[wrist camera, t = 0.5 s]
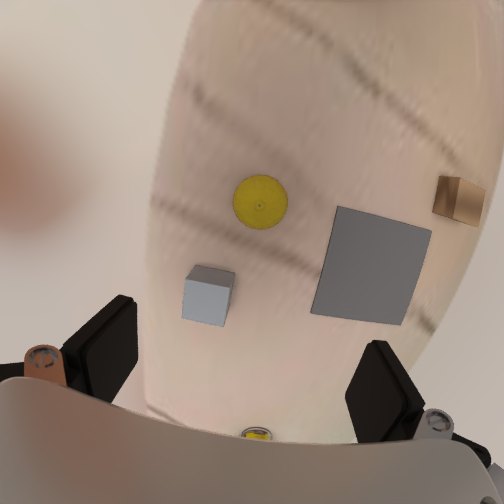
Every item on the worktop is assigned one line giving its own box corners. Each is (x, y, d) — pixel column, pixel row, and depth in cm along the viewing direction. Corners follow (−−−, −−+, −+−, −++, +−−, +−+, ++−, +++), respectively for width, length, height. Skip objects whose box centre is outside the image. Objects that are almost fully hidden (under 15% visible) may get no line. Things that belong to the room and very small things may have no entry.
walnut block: (438, 176, 30) (460, 177, 25) (463, 186, 30) (485, 189, 25) (432, 211, 31) (452, 217, 27) (457, 220, 31) (478, 227, 27)
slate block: (195, 265, 35) (185, 278, 30) (235, 272, 35) (230, 287, 30) (191, 300, 36) (181, 318, 32) (229, 308, 36) (223, 327, 32)
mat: (337, 206, 32) (338, 206, 32) (430, 230, 32) (431, 231, 32) (310, 312, 36) (310, 313, 36) (400, 324, 36) (400, 325, 35)
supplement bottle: (269, 424, 42) (268, 471, 32) (274, 441, 43) (274, 485, 34) (237, 427, 43) (232, 472, 33) (245, 444, 44) (240, 486, 34)
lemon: (290, 214, 33) (298, 226, 25) (245, 228, 33) (239, 244, 26) (277, 169, 31) (280, 166, 24) (231, 183, 32) (219, 185, 24)
